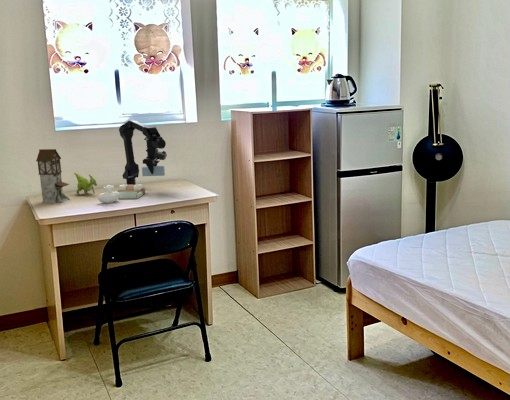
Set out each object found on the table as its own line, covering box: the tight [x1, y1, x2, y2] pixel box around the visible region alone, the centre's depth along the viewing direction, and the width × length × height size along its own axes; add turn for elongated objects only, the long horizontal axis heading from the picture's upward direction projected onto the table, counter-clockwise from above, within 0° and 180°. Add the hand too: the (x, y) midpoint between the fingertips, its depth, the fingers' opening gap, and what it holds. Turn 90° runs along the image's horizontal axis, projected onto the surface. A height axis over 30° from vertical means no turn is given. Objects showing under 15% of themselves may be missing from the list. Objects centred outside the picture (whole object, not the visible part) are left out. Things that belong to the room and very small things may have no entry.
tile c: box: [134, 183, 144, 190], centre depth 330 cm, size 4×4×2 cm
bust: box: [97, 184, 119, 204], centre depth 309 cm, size 12×8×11 cm
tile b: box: [126, 184, 134, 190], centre depth 331 cm, size 4×4×2 cm
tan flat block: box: [116, 187, 146, 194], centre depth 331 cm, size 8×14×3 cm, turn 81°
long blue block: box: [141, 165, 166, 177], centre depth 334 cm, size 4×13×6 cm, turn 91°
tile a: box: [118, 184, 127, 190], centre depth 331 cm, size 4×4×2 cm
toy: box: [73, 172, 98, 196], centre depth 336 cm, size 8×21×15 cm
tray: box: [118, 191, 143, 200], centre depth 323 cm, size 9×17×4 cm, turn 81°
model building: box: [35, 148, 71, 204], centre depth 316 cm, size 10×15×30 cm
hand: (153, 173), depth 334 cm, fingers closed on long blue block, 4 cm apart
